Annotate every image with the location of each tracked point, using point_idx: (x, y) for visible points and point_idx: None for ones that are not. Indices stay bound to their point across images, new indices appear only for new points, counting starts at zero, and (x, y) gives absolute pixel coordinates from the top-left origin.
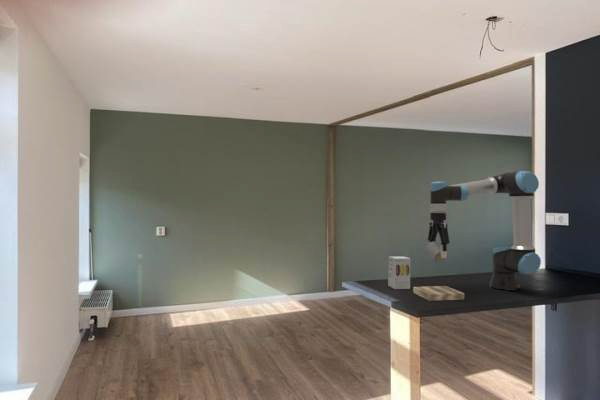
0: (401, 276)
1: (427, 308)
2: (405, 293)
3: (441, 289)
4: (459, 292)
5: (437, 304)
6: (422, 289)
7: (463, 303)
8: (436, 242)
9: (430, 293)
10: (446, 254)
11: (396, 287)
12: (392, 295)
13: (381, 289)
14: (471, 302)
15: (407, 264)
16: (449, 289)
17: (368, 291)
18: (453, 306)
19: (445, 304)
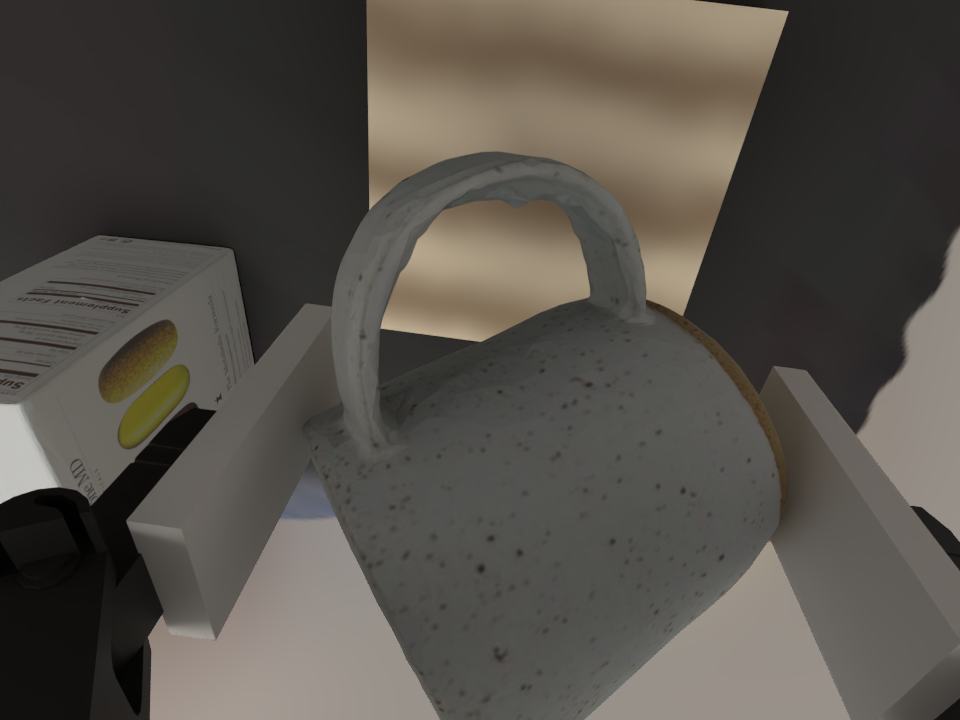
0: (194, 375)
1: None
2: (395, 365)
3: (530, 147)
4: (730, 43)
5: (767, 350)
6: (482, 314)
7: (868, 137)
8: (513, 696)
9: None
10: (839, 417)
11: (247, 362)
12: None
13: None
14: (892, 24)
15: (98, 392)
16: (558, 55)
17: (309, 516)
18: (881, 283)
19: (800, 300)
